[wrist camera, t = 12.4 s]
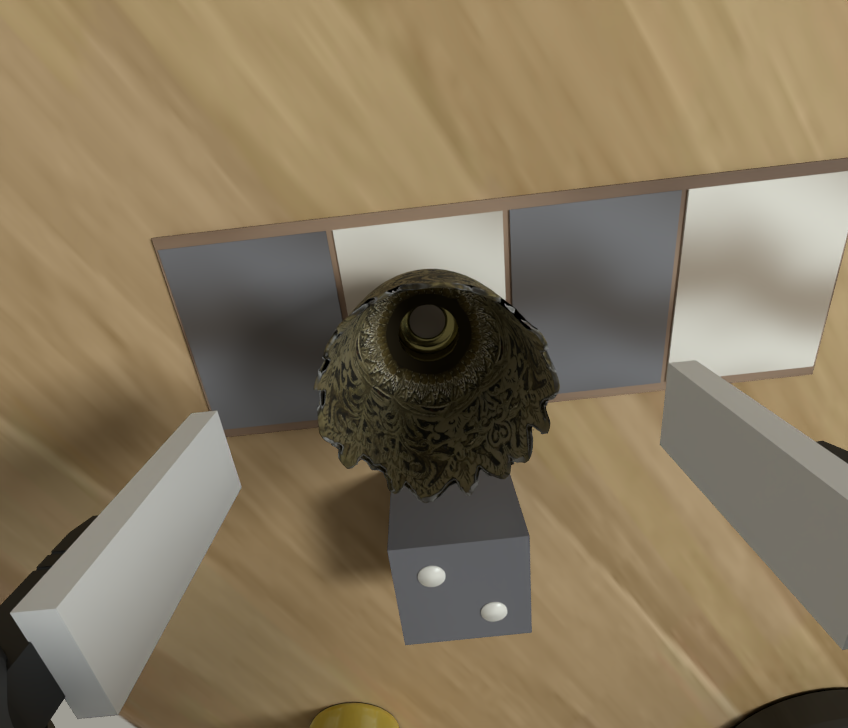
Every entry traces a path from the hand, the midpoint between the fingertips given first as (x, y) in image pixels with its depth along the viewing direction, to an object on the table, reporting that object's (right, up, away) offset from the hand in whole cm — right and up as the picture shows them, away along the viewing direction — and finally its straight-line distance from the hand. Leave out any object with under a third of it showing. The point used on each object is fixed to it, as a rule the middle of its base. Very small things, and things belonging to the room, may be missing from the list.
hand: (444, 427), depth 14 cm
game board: (+3, +4, +8) cm, 10 cm away
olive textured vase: (0, +4, +8) cm, 9 cm away
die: (+1, -6, +12) cm, 14 cm away
